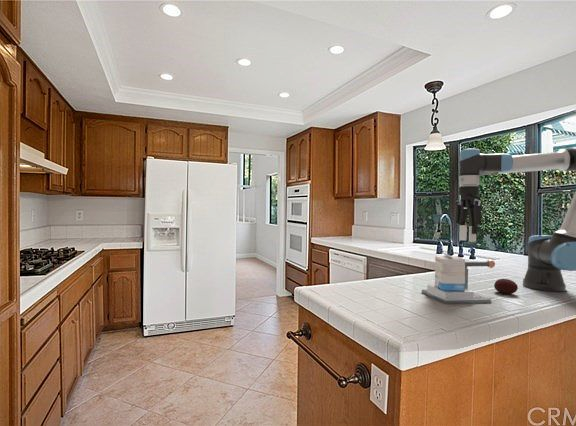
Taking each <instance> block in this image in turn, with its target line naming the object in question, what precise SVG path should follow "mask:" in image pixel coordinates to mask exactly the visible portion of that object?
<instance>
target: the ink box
mask: <svg viewBox="0 0 576 426" xmlns="http://www.w3.org/2000/svg"><path fill="white" fill-rule="evenodd" d="M441 252H442V254H444V256H443V255H439V256H438V255H435V257H434V259H435V260H434V285H435V286H437V287H438V288H440V289H441V290H453V291H465V262H466V259H464V258H462V257H460V256H453V255H452V256H451V255H450V254H449V253H447V252H444V251H441Z"/></svg>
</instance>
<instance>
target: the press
mask: <svg viewBox="0 0 576 426" xmlns="http://www.w3.org/2000/svg"><path fill="white" fill-rule="evenodd" d="M468 283H469V267H467V268H465V291H453V290H441V289H440V288H438V287H437V286H435V284H427V286H426V288H427V289H421V294H423V295H426V296H428V297H430V298H432V299H435V300H436V301H438V302H440V303H443V304H445V305H463V304H466V305H467V304H492V299H491V298H488V297H486V296H482V295H480V294H477V293H475V292H474V291H473V290H470V289H468V288H469V285H468Z"/></svg>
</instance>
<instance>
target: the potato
mask: <svg viewBox="0 0 576 426" xmlns="http://www.w3.org/2000/svg"><path fill="white" fill-rule="evenodd" d="M493 288H494V289H495V290H496V291H497V292H499V293H501V294H506V295H510V294H515V293H516V292H517V291H518V289H519V287H518V284H517V283H516V282H515V281H514V280H511V279H508V278H498V279H497V280H496V281H495V282H494V286H493Z"/></svg>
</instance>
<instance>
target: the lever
mask: <svg viewBox="0 0 576 426" xmlns="http://www.w3.org/2000/svg"><path fill="white" fill-rule="evenodd" d="M495 265H496V263H495V261H494V260H492V259H488V260H486V261H465V268H468V267H487V268H490V269H493V268H495Z"/></svg>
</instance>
